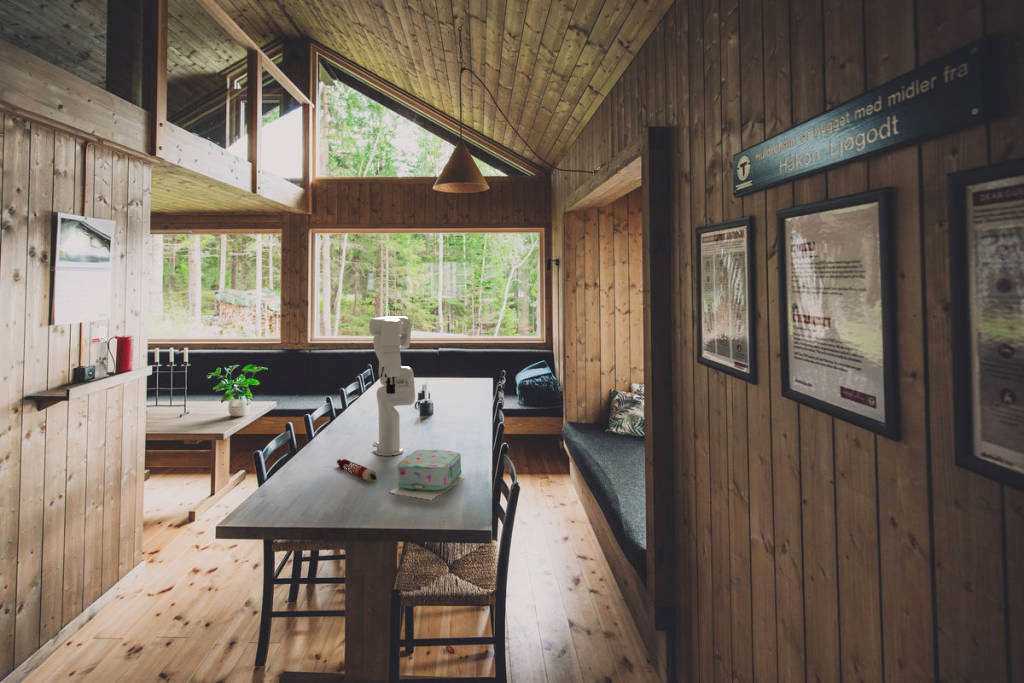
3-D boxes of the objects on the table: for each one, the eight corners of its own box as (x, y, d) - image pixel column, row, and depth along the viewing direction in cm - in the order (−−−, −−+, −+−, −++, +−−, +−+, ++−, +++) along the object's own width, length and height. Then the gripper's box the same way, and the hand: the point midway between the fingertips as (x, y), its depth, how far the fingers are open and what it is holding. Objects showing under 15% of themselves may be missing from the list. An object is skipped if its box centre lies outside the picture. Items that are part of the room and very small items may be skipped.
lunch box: (391, 492, 194) (446, 498, 190) (391, 464, 193) (447, 470, 189) (418, 469, 220) (467, 474, 216) (418, 445, 220) (467, 450, 215)
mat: (388, 493, 194) (388, 492, 194) (426, 472, 218) (426, 471, 218) (431, 500, 187) (431, 499, 187) (464, 478, 211) (464, 477, 211)
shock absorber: (331, 460, 223) (368, 476, 202) (340, 454, 226) (378, 469, 205) (335, 469, 224) (372, 486, 203) (344, 463, 227) (382, 479, 206)
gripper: (393, 347, 226) (393, 389, 228) (371, 350, 212) (372, 395, 214) (408, 348, 223) (408, 391, 225) (387, 352, 209) (387, 397, 211)
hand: (390, 393), depth 219 cm, fingers closed
